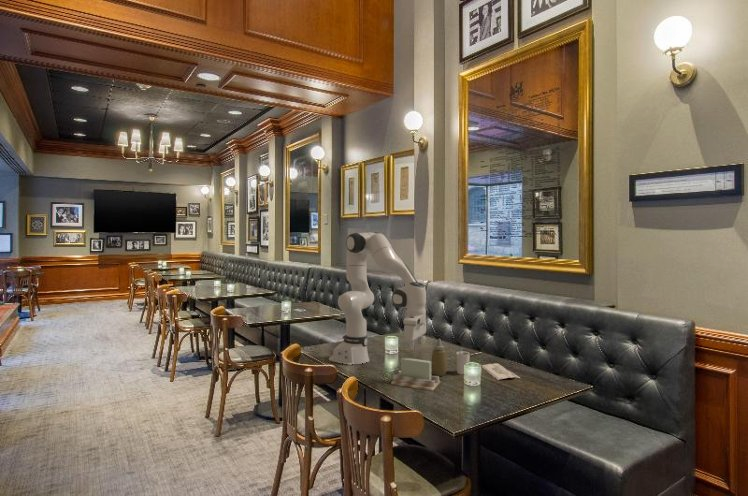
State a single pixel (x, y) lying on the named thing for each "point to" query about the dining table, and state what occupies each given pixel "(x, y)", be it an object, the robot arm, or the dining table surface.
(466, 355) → the grey cylinder
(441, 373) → the squeeze bottle
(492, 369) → the newspaper
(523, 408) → the dining table surface
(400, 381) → the door track
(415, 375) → the door panel
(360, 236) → the robot arm
